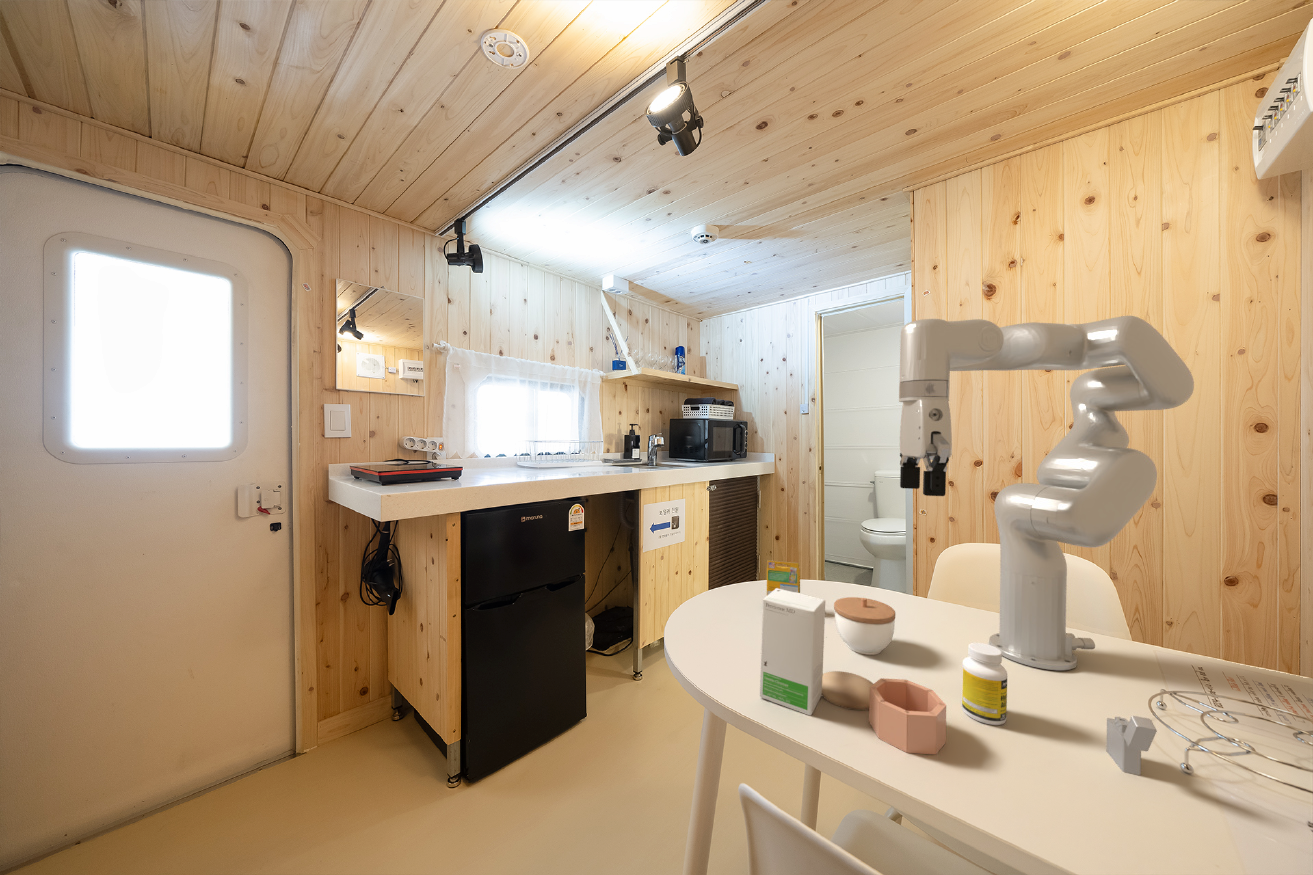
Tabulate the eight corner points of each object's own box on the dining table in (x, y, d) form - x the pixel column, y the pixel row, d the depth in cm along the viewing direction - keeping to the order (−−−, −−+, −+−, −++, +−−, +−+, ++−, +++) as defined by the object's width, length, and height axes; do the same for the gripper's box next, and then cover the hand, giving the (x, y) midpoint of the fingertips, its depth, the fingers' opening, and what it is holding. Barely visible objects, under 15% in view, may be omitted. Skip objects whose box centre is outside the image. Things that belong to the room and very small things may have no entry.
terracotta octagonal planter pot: (923, 714, 67) (923, 680, 67) (956, 755, 59) (956, 716, 59) (862, 710, 68) (863, 677, 68) (886, 751, 59) (886, 713, 59)
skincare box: (758, 698, 71) (759, 598, 71) (773, 679, 77) (774, 586, 76) (813, 717, 67) (814, 610, 66) (825, 695, 72) (826, 596, 72)
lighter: (1105, 749, 60) (1106, 689, 60) (1123, 753, 59) (1124, 692, 59) (1135, 789, 53) (1137, 721, 53) (1156, 793, 53) (1157, 724, 52)
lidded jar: (881, 635, 93) (882, 589, 93) (905, 662, 82) (905, 610, 82) (827, 633, 94) (827, 587, 94) (843, 659, 83) (843, 608, 83)
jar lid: (866, 678, 77) (866, 672, 77) (888, 711, 68) (889, 704, 68) (811, 675, 78) (811, 669, 78) (826, 708, 69) (826, 701, 69)
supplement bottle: (1009, 731, 63) (1010, 661, 63) (961, 718, 66) (962, 651, 66) (1004, 711, 68) (1005, 645, 68) (960, 699, 71) (961, 636, 71)
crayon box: (800, 609, 106) (800, 559, 106) (799, 614, 103) (799, 563, 103) (768, 605, 109) (768, 556, 108) (766, 610, 106) (766, 560, 106)
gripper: (974, 388, 70) (971, 500, 71) (925, 397, 87) (922, 486, 88) (921, 388, 71) (919, 498, 72) (883, 396, 89) (881, 485, 89)
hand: (921, 491), depth 80 cm, fingers open, 9 cm apart
